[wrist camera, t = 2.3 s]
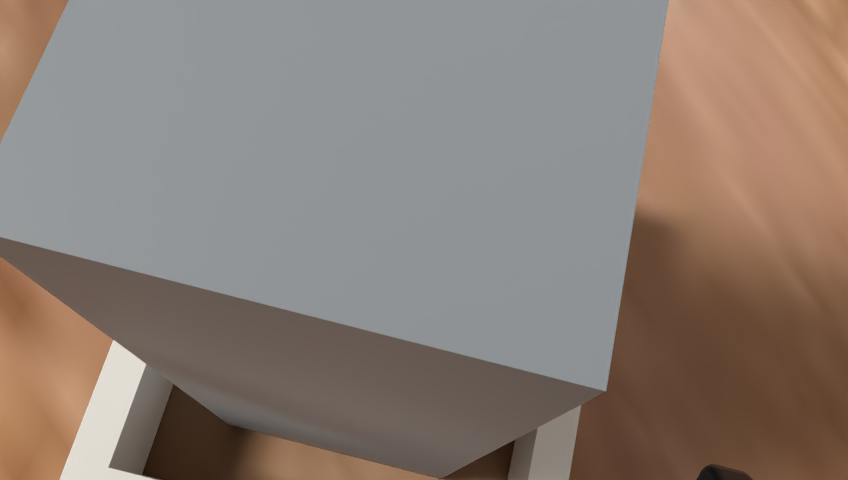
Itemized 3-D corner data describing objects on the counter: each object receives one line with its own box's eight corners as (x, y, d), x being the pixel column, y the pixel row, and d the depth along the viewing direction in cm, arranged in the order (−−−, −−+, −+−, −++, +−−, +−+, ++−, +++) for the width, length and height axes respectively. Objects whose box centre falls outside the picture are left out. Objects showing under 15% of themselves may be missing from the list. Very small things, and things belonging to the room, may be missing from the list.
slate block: (440, 479, 18) (606, 391, 6) (228, 424, 18) (-40, 226, 6) (486, 276, 20) (687, -117, 8) (292, 227, 20) (184, -241, 8)
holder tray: (519, 612, 17) (544, 626, 15) (93, 502, 17) (51, 499, 15) (590, 215, 21) (620, 175, 18) (232, 125, 21) (215, 73, 18)
